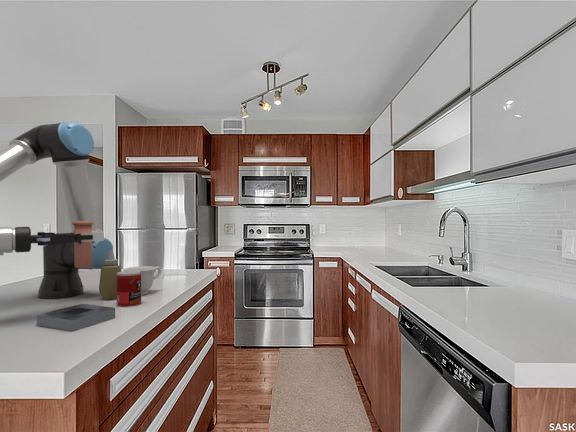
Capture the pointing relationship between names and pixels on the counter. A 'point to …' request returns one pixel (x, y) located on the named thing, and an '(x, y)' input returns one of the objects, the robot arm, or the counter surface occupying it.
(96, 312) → the flange block
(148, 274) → the teacup
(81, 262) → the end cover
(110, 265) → the squeeze bottle
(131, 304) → the canned food
